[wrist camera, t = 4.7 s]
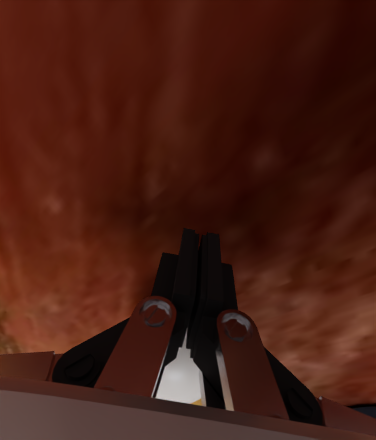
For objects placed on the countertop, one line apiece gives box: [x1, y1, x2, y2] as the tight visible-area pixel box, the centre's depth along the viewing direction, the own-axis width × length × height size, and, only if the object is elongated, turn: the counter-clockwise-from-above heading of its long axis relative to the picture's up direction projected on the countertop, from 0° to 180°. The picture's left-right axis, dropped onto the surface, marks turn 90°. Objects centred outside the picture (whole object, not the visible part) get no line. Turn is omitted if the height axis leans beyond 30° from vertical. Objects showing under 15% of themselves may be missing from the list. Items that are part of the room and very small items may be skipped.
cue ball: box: [156, 331, 201, 404], centre depth 13 cm, size 6×6×6 cm
